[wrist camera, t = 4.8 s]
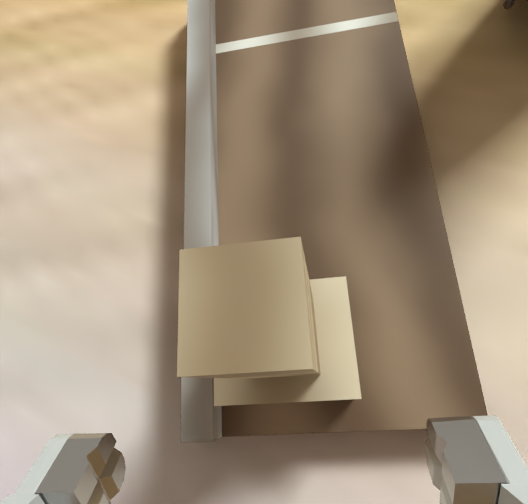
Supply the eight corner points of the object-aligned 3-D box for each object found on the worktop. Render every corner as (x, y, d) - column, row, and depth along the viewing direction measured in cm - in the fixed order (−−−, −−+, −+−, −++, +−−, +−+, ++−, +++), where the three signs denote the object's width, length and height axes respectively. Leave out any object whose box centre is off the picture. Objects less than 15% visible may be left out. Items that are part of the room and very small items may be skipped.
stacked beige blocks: (343, 291, 19) (359, 190, 9) (356, 395, 18) (393, 417, 8) (228, 301, 20) (125, 219, 10) (231, 402, 19) (110, 429, 8)
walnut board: (379, -20, 28) (385, -73, 25) (473, 421, 18) (504, 430, 15) (197, 15, 30) (181, -30, 27) (195, 432, 20) (169, 442, 17)
